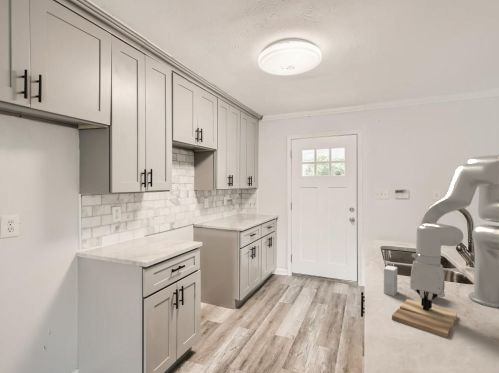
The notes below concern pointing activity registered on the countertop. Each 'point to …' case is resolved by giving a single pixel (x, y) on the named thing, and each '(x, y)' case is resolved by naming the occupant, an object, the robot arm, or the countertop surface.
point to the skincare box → (390, 280)
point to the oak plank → (430, 312)
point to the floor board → (422, 322)
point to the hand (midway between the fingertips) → (426, 308)
